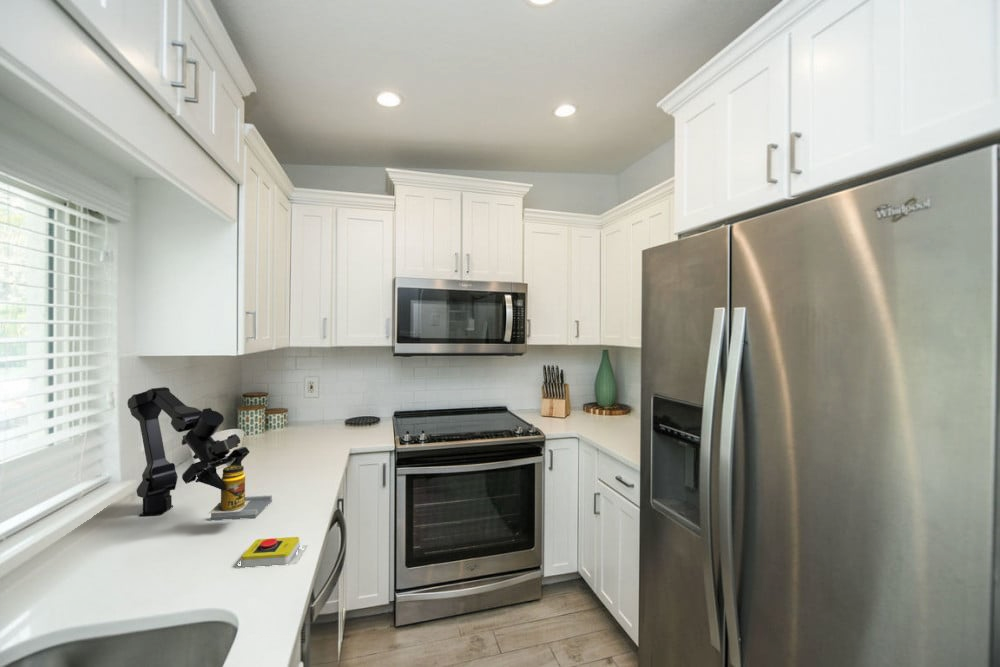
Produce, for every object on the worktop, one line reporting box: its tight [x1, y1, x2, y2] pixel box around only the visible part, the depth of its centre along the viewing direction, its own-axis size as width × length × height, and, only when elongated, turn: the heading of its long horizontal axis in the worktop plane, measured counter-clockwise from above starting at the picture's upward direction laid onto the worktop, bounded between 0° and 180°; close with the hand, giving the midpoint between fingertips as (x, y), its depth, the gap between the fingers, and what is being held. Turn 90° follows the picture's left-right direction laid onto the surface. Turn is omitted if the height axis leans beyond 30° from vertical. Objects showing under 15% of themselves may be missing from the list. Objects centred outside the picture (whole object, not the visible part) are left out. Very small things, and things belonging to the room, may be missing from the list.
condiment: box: [208, 464, 249, 514], centre depth 123 cm, size 7×8×12 cm
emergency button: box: [234, 536, 309, 569], centre depth 108 cm, size 9×4×15 cm
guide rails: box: [210, 494, 273, 518], centre depth 136 cm, size 13×12×1 cm
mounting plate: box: [210, 498, 273, 521], centre depth 136 cm, size 13×13×1 cm
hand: (234, 485), depth 122 cm, fingers closed on condiment, 6 cm apart
